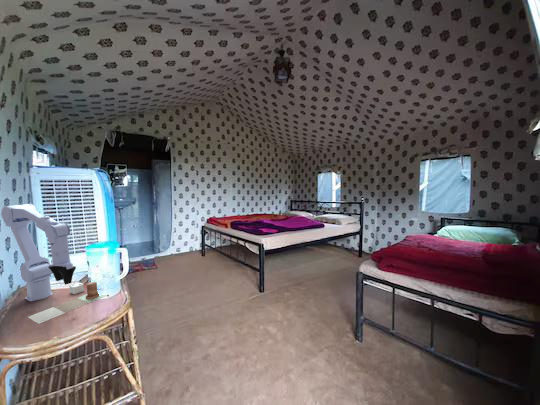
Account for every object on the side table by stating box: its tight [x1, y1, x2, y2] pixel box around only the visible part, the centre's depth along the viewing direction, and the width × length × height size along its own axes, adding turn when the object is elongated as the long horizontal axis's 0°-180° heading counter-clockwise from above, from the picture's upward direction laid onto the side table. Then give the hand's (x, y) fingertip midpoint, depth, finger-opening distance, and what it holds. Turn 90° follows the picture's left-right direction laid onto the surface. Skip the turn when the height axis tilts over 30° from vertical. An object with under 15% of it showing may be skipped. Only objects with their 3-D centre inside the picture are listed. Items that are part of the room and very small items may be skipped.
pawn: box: [85, 281, 99, 299], centre depth 113 cm, size 5×5×6 cm
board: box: [27, 293, 110, 325], centre depth 106 cm, size 10×25×1 cm, turn 152°
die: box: [69, 282, 85, 295], centre depth 118 cm, size 4×4×4 cm
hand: (63, 281), depth 109 cm, fingers open, 7 cm apart
